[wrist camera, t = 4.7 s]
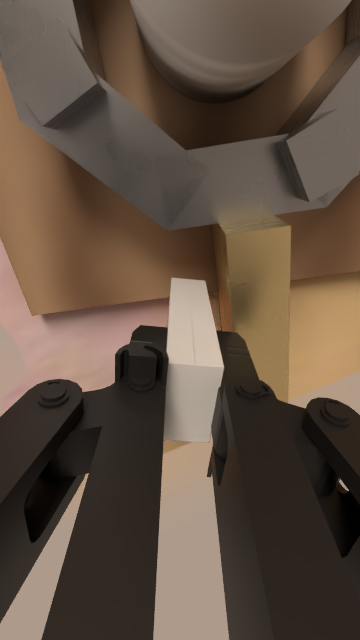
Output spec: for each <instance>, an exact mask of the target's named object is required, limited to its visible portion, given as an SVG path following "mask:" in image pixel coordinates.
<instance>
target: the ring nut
mask: <svg viewBox="0 0 360 640" xmlns="http://www.w3.org/2000/svg"><path fill="white" fill-rule="evenodd" d="M0 60H1V63H2V68H3V69H4V72H5V75H6V79H7V82H8V85H9V88H10V91H11V94H12V97H13V101H14V104H15V107H16V110H17V113H18V116H19V119H20V121H22V122H23V123H24V124H26V125H27V126H28V127H30V128H31V129H32V130H34V131H35V132H36V133H38V134H39V135H40V136H42V137H43V138H44V139H46V140H47V141H48V142H50V143H51V144H52V145H54V146H55V147H56V148H58V149H59V150H60V151H62V152H63V153H64V154H66V155H67V156H68V157H70V158H71V159H72V160H74V161H75V162H76V163H78V164H79V165H80V166H82V167H83V168H84V169H86V170H87V171H88V172H90V173H91V174H92V175H94V176H95V177H96V178H98V179H99V180H100V181H102V182H103V183H104V184H106V185H107V186H108V187H110V188H111V189H112V190H114V191H115V192H116V193H118V194H119V195H120V196H122V197H123V198H124V199H125V200H127V201H128V202H129V203H131V204H132V205H133V206H135V207H136V208H137V209H139V210H140V211H141V212H143V213H144V214H145V215H147V216H148V217H149V218H151V219H152V220H153V221H155V222H156V223H157V224H159V225H160V226H161V227H163V228H164V229H165V230H167V231H170V230H177V229H183V228H190V227H197V226H204V225H210V224H212V230H213V240H214V251H215V261H216V272H217V283H218V293H219V304H220V314H221V325H222V331H226V332H237V333H238V334H239V335H240V336H241V337H242V338H243V339H244V340H245V342H246V345H247V347H248V350H249V353H250V357H251V358H252V361H253V364H254V366H255V369H256V372H257V374H258V377H259V380H261V381H263V382H265V383H266V384H267V385H269V386H270V387H271V389H272V390H273V391H274V393H275V395H276V398H277V399H278V400H280V401H283V402H285V403H288V375H289V317H290V258H291V225H289V224H288V223H286V222H284V221H283V220H281V219H279V218H277V217H276V216H274V215H278V214H285V213H291V212H298V211H305V210H312V209H318V208H325V207H327V206H328V205H329V204H330V203H331V202H332V201H333V200H334V199H335V198H336V196H337V195H338V194H339V193H340V192H341V191H342V190H343V189H344V188H345V187H346V185H347V184H348V183H349V182H350V181H351V180H352V179H353V178H354V177H356V176H357V175H359V171H360V0H352V1H351V2H350V3H349V12H348V25H347V38H346V45H345V46H344V47H343V49H342V50H341V51H340V52H339V54H338V55H337V56H336V58H335V59H334V60H333V62H332V63H331V64H330V66H329V67H328V68H327V69H326V71H325V72H324V73H323V75H322V76H321V77H320V79H319V80H318V81H317V82H316V84H315V85H314V86H313V88H312V89H311V90H310V92H309V93H308V94H307V96H306V97H305V98H304V99H303V101H302V102H301V103H300V105H299V106H298V107H297V109H296V110H295V111H294V113H293V114H292V115H291V116H290V118H289V119H288V120H287V122H286V123H285V124H284V126H283V127H282V128H281V129H280V131H279V132H278V133H277V135H276V136H271V137H265V138H259V139H253V140H247V141H241V142H235V143H228V144H222V145H216V146H210V147H204V148H198V149H192V150H185V149H184V148H183V147H181V146H180V145H179V144H178V143H177V142H176V141H174V140H173V139H172V138H171V137H170V136H169V135H167V134H166V133H165V132H164V131H163V130H162V129H160V128H159V127H158V126H157V125H156V124H154V123H153V122H152V121H151V120H150V119H149V118H147V117H146V116H145V115H144V114H143V113H142V112H140V111H139V110H138V109H137V108H136V107H135V106H133V105H132V104H131V103H130V102H129V101H128V100H126V99H125V98H124V97H123V96H122V95H121V94H119V93H118V92H117V91H116V90H115V89H114V88H112V87H111V86H110V85H109V84H108V83H107V82H106V79H105V74H104V69H103V64H102V59H101V54H100V49H99V44H98V39H97V34H96V30H95V25H94V20H93V15H92V10H91V5H90V0H0Z"/></svg>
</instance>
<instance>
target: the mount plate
mask: <svg viewBox="0 0 360 640" xmlns="http://www.w3.org/2000/svg"><path fill="white" fill-rule="evenodd" d="M351 1H352V0H90V5H91V10H92V15H93V20H94V25H95V30H96V34H97V39H98V44H99V49H100V54H101V59H102V64H103V69H104V74H105V79H106V82H107V83H108V84H109V85H110V86H111V87H112V88H114V89H115V90H116V91H117V92H118V93H119V94H121V95H122V96H123V97H124V98H125V99H126V100H128V101H129V102H130V103H131V104H132V105H133V106H135V107H136V108H137V109H138V110H139V111H140V112H142V113H143V114H144V115H145V116H146V117H147V118H149V119H150V120H151V121H152V122H153V123H154V124H156V125H157V126H158V127H159V128H160V129H162V130H163V131H164V132H165V133H166V134H167V135H169V136H170V137H171V138H172V139H173V140H174V141H176V142H177V143H178V144H179V145H180V146H181V147H183V148H184V149H185V150H192V149H198V148H204V147H210V146H216V145H222V144H228V143H235V142H241V141H247V140H253V139H259V138H265V137H271V136H276V135H277V133H278V132H279V131H280V129H281V128H282V127H283V126H284V124H285V123H286V122H287V120H288V119H289V118H290V116H291V115H292V114H293V113H294V111H295V110H296V109H297V107H298V106H299V105H300V103H301V102H302V101H303V99H304V98H305V97H306V96H307V94H308V93H309V92H310V90H311V89H312V88H313V86H314V85H315V84H316V82H317V81H318V80H319V79H320V77H321V76H322V75H323V73H324V72H325V71H326V69H327V68H328V67H329V66H330V64H331V63H332V62H333V60H334V59H335V58H336V56H337V55H338V54H339V52H340V51H341V50H342V49H343V47H344V46H345V45H346V38H347V25H348V12H349V3H350V2H351ZM274 216H276V217H277V218H279V219H281V220H283V221H284V222H286V223H288V224H289V225H291V258H290V281H292V280H299V279H307V278H314V277H322V276H329V275H336V274H344V273H351V272H358V271H360V171H359V175H357V176H356V177H354V178H353V179H352V180H351V181H350V182H349V183H348V184H347V185H346V187H345V188H344V189H343V190H342V191H341V192H340V193H339V194H338V195H337V196H336V198H335V199H334V200H333V201H332V202H331V203H330V204H329V205H328V206H327V207H325V208H318V209H312V210H305V211H298V212H291V213H285V214H278V215H274ZM0 237H1V240H2V242H3V245H4V247H5V250H6V252H7V255H8V257H9V260H10V262H11V265H12V267H13V270H14V272H15V275H16V277H17V280H18V282H19V285H20V287H21V290H22V292H23V295H24V297H25V300H26V302H27V305H28V307H29V310H30V312H31V315H32V316H34V315H41V314H48V313H56V312H63V311H70V310H78V309H85V308H93V307H100V306H107V305H115V304H122V303H130V302H137V301H144V300H152V299H159V298H166V297H170V289H171V278H182V279H193V280H204V281H205V282H206V287H207V292H211V291H218V283H217V272H216V261H215V251H214V240H213V230H212V224H210V225H204V226H197V227H190V228H183V229H177V230H170V231H167V230H165V229H164V228H163V227H161V226H160V225H159V224H157V223H156V222H155V221H153V220H152V219H151V218H149V217H148V216H147V215H145V214H144V213H143V212H141V211H140V210H139V209H137V208H136V207H135V206H133V205H132V204H131V203H129V202H128V201H127V200H125V199H124V198H123V197H122V196H120V195H119V194H118V193H116V192H115V191H114V190H112V189H111V188H110V187H108V186H107V185H106V184H104V183H103V182H102V181H100V180H99V179H98V178H96V177H95V176H94V175H92V174H91V173H90V172H88V171H87V170H86V169H84V168H83V167H82V166H80V165H79V164H78V163H76V162H75V161H74V160H72V159H71V158H70V157H68V156H67V155H66V154H64V153H63V152H62V151H60V150H59V149H58V148H56V147H55V146H54V145H52V144H51V143H50V142H48V141H47V140H46V139H44V138H43V137H42V136H40V135H39V134H38V133H36V132H35V131H34V130H32V129H31V128H30V127H28V126H27V125H26V124H24V123H23V122H22V121H20V119H19V116H18V113H17V110H16V107H15V104H14V101H13V97H12V94H11V91H10V88H9V85H8V82H7V79H6V75H5V72H4V69H3V68H2V63H1V60H0Z"/></svg>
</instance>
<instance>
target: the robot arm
mask: <svg viewBox="0 0 360 640" xmlns="http://www.w3.org/2000/svg"><path fill="white" fill-rule="evenodd" d="M211 432H212V437H213V447H212V453H211V457H210V462H209V467H208V474H207V477H211V474H212V476H213V485H214V495H215V504H216V514H217V525H218V534H219V543H220V553H221V562H222V573H223V583H224V592H225V602H226V612H227V621H228V631H229V640H360V415H359V414H358V413H357V412H355V411H354V410H353V409H352V408H350V407H349V406H347V405H345V404H343V403H341V402H339V401H337V400H333V399H329V398H316V399H312V400H311V401H310V402H309V403H308V404H307V407H306V409H305V408H301V407H298V406H295V405H291V404H288V403H285V402H283V401H280V400H278V399H277V398H276V395H275V393H274V391H273V390H272V389H271V387H270V386H269V385H267V384H266V383H265V382H263V381H261V380H259V377H258V374H257V372H256V369H255V366H254V364H253V361H252V358H251V357H250V353H249V350H248V347H247V345H246V342H245V340H244V339H243V338H242V337H241V336H240V335H239V334H238V333H237V332H226V331H216V328H215V324H214V319H213V315H212V310H211V305H210V301H209V296H208V292H207V287H206V282H205V281H204V280H193V279H182V278H171V289H170V300H169V311H168V322H167V327H155V326H143V325H140V326H139V327H138V328H137V329H136V330H134V331H133V333H132V337H131V341H130V344H128V345H125V346H123V347H122V348H120V349H119V350H118V351H117V353H116V354H115V383H114V384H112V385H111V386H108V387H106V388H103V389H99V390H95V391H88V392H82V388H81V387H80V386H79V385H78V384H77V383H75V382H72V381H70V380H63V379H55V380H48V381H45V382H42V383H40V384H37V385H36V386H34V387H33V388H31V389H30V390H28V391H27V392H26V393H25V394H24V395H23V396H22V397H21V398H20V399H19V400H18V401H17V402H16V403H15V404H14V405H13V406H11V407H10V408H9V409H8V410H7V411H6V412H5V413H4V414H3V415H2V416H1V417H0V623H1V621H2V619H3V617H4V616H5V614H6V612H7V610H8V609H9V607H10V605H11V603H12V602H13V600H14V598H15V597H16V595H17V593H18V591H19V590H20V588H21V586H22V584H23V583H24V581H25V579H26V578H27V576H28V574H29V572H30V571H31V569H32V567H33V566H34V564H35V562H36V560H37V559H38V557H39V555H40V553H41V552H42V550H43V548H44V547H45V545H46V543H47V541H48V540H49V538H50V536H51V534H52V533H53V531H54V529H55V527H56V526H57V524H58V522H59V521H60V519H61V517H62V515H63V514H64V512H65V510H66V508H67V507H68V505H69V503H70V501H71V500H72V498H73V496H74V495H75V493H76V491H77V490H78V488H79V486H80V484H81V483H82V481H83V479H84V477H85V474H87V473H89V475H88V478H87V482H86V485H85V489H84V492H83V496H82V499H81V503H80V506H79V510H78V513H77V517H76V520H75V524H74V528H73V531H72V534H71V538H70V541H69V545H68V548H67V552H66V555H65V559H64V563H63V566H62V569H61V573H60V576H59V580H58V583H57V587H56V591H55V594H54V597H53V601H52V604H51V608H50V612H49V615H48V619H47V622H46V626H45V630H44V633H43V636H42V640H153V630H154V611H155V591H156V571H157V554H158V533H159V515H160V496H161V476H162V475H161V474H162V457H163V440H172V441H187V442H202V443H209V442H210V437H211ZM340 479H341V480H342V481H343V483H344V484H345V486H346V487H347V488H348V489H349V491H347V490H345V489H344V488H343V487H342V485H341V484H340V483H339V480H340Z"/></svg>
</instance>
